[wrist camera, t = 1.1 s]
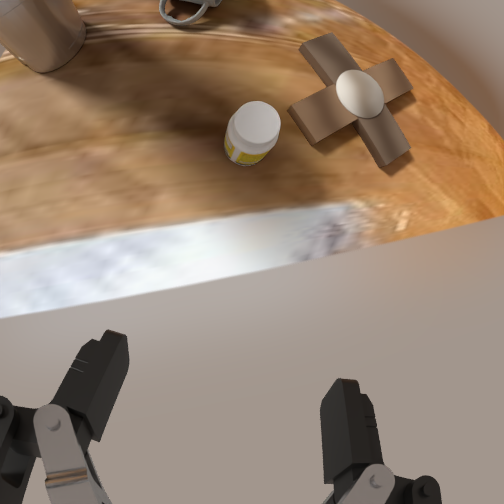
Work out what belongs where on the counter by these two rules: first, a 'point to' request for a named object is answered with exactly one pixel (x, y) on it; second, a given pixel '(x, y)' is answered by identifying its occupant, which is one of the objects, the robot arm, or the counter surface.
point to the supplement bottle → (251, 133)
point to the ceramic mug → (206, 1)
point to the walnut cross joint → (352, 99)
